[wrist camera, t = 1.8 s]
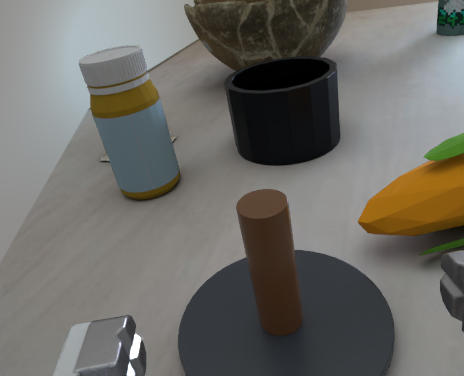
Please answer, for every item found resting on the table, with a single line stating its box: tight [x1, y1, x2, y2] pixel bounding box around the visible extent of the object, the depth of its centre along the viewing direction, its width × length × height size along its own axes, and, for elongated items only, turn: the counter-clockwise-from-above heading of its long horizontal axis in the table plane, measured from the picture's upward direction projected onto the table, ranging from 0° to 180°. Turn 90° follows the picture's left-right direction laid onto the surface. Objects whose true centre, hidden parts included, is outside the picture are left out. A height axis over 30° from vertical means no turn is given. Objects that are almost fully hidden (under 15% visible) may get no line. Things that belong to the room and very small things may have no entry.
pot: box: [224, 56, 340, 165], centre depth 50 cm, size 13×13×8 cm
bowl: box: [184, 0, 348, 71], centre depth 74 cm, size 28×27×15 cm
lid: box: [178, 189, 394, 376], centre depth 25 cm, size 14×14×10 cm
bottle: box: [79, 45, 180, 200], centre depth 45 cm, size 7×7×15 cm
